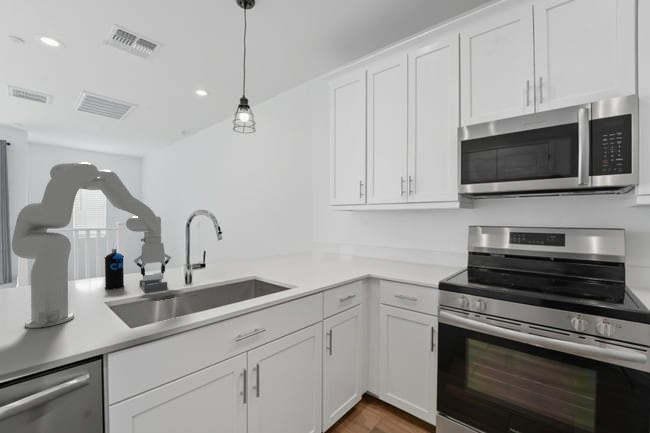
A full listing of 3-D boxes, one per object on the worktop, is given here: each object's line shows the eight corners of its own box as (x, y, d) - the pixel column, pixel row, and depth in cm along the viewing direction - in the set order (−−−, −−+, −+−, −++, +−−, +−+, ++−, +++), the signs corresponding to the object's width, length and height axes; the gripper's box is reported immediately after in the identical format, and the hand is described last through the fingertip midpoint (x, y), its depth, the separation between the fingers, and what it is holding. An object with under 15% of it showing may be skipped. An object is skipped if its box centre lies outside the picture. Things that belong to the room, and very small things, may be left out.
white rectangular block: (143, 279, 149) (143, 273, 149) (163, 277, 154) (163, 272, 154) (142, 280, 145) (142, 275, 145) (163, 278, 149) (163, 273, 149)
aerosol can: (100, 289, 148) (100, 249, 147) (116, 285, 155) (116, 247, 155) (112, 290, 145) (112, 250, 145) (128, 286, 153) (127, 248, 153)
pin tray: (167, 289, 147) (167, 282, 147) (144, 292, 140) (144, 285, 140) (160, 283, 159) (160, 277, 159) (139, 286, 152) (139, 279, 152)
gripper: (133, 242, 141) (134, 278, 141) (173, 239, 152) (173, 273, 152) (131, 241, 146) (132, 275, 147) (169, 238, 158) (170, 271, 158)
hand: (153, 274), depth 149 cm, fingers closed on white rectangular block, 8 cm apart
